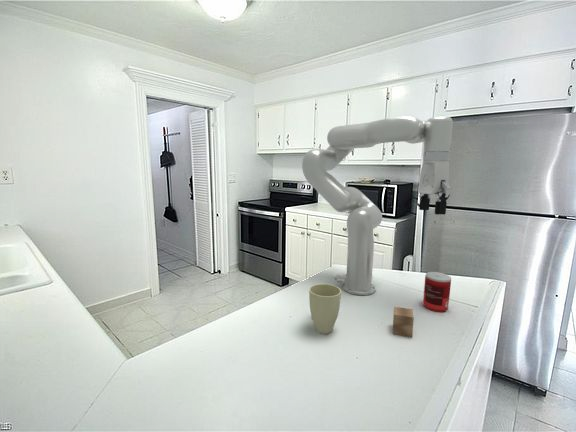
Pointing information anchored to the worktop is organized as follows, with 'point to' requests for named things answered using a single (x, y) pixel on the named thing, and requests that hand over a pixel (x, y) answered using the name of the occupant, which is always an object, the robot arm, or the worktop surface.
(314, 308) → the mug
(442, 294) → the canned food
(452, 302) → the worktop surface
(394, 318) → the walnut block
